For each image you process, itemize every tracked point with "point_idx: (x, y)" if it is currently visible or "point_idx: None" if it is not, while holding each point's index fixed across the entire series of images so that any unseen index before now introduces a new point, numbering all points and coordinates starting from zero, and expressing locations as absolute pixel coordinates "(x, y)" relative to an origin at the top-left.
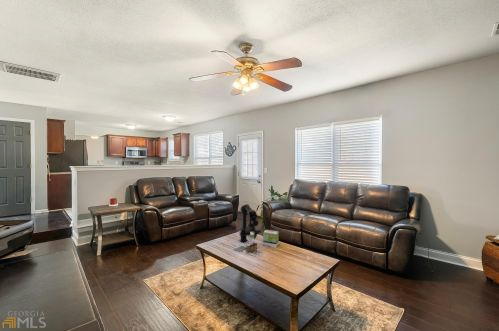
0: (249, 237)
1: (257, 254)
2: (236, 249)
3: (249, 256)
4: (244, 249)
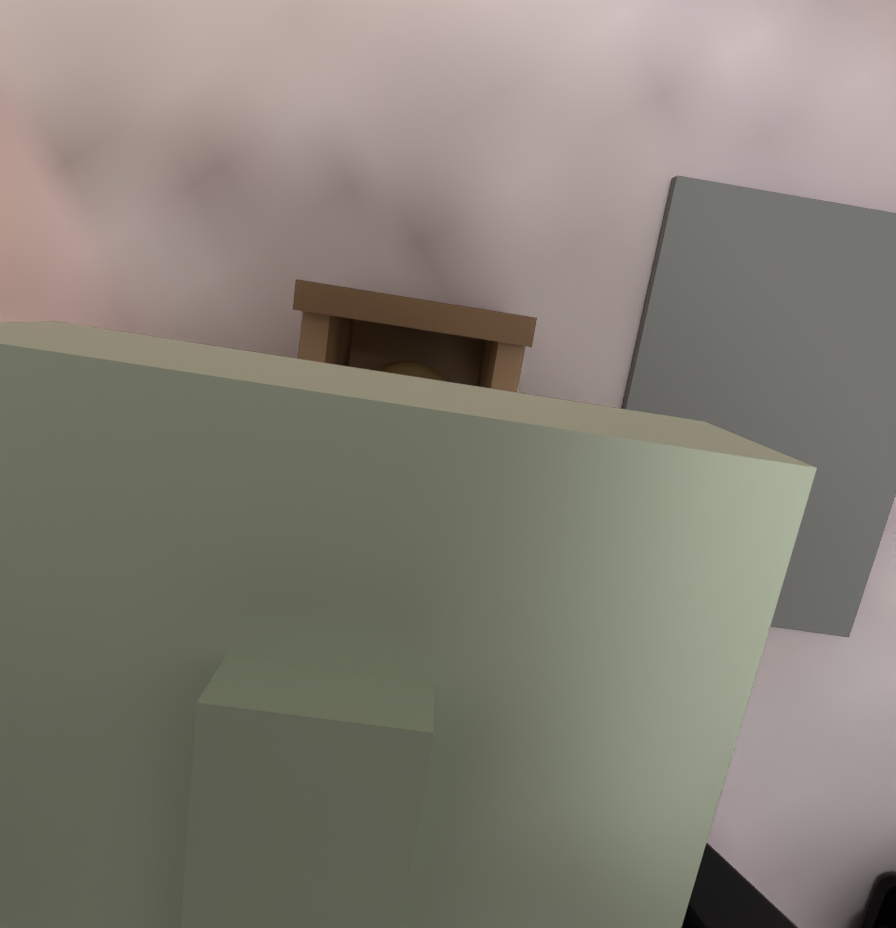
0: (254, 385)
1: (88, 324)
2: (887, 291)
3: (223, 28)
4: None
